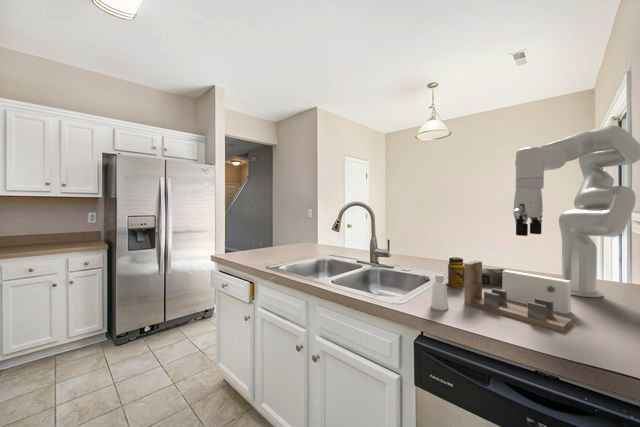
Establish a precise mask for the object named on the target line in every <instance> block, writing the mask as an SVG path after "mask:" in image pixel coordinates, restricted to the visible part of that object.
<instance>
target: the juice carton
mask: <svg viewBox="0 0 640 427" xmlns="http://www.w3.org/2000/svg"><path fill="white" fill-rule="evenodd" d="M504 270H505V269H504V268H482V287H486V286H487V287H502V271H504Z"/></svg>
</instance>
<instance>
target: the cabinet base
mask: <svg viewBox="0 0 640 427" xmlns="http://www.w3.org/2000/svg"><path fill="white" fill-rule="evenodd" d="M463 265H464V295H463V296H464V298H463V299H464V301H463V302H464V305H468V306H472V307H475V308H478V309H481V310H485V311H488V312H491V313H494V314H498V315H502V316H506V317H509V318H512V319H516V320H519V321H522V322H527V323H529V324H532V325H537V326H540V327H543V328H546V329H550V330H554V331H557V332H560V333H564V332H565V331H567V330H568V329H569V328H571V326H572V325H573V319H572V318H568V317H565V316H561V315H557V314H554V311H553V302H552V301H548V300H543V299H539V298H535V303H533V302H528V304H527V307H525V306H521V305H517V304H514V303H511V302H507V300H508V299H507V291H503V290H502V289H500V288H499V289H497V288H495V287H493V288H491V292H490V291H483V285H482V269H483V261H481V260H473V261H469V262H466V263H464V262H463Z"/></svg>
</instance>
